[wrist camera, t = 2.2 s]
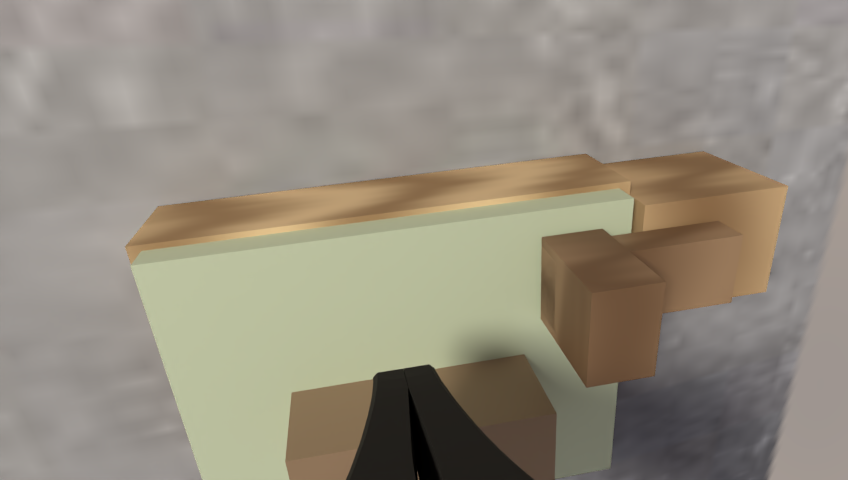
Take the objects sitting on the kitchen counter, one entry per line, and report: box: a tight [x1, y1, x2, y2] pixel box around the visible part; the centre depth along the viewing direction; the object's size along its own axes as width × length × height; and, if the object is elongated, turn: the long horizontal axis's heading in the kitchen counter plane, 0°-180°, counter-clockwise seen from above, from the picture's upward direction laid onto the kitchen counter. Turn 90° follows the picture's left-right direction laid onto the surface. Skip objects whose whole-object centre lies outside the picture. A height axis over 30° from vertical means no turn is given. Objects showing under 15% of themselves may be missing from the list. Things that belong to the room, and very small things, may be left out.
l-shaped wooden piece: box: [541, 221, 743, 388], centre depth 16 cm, size 6×3×4 cm, turn 95°
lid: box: [130, 188, 634, 480], centre depth 18 cm, size 15×12×4 cm
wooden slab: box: [125, 151, 788, 297], centre depth 21 cm, size 21×12×4 cm, turn 94°
